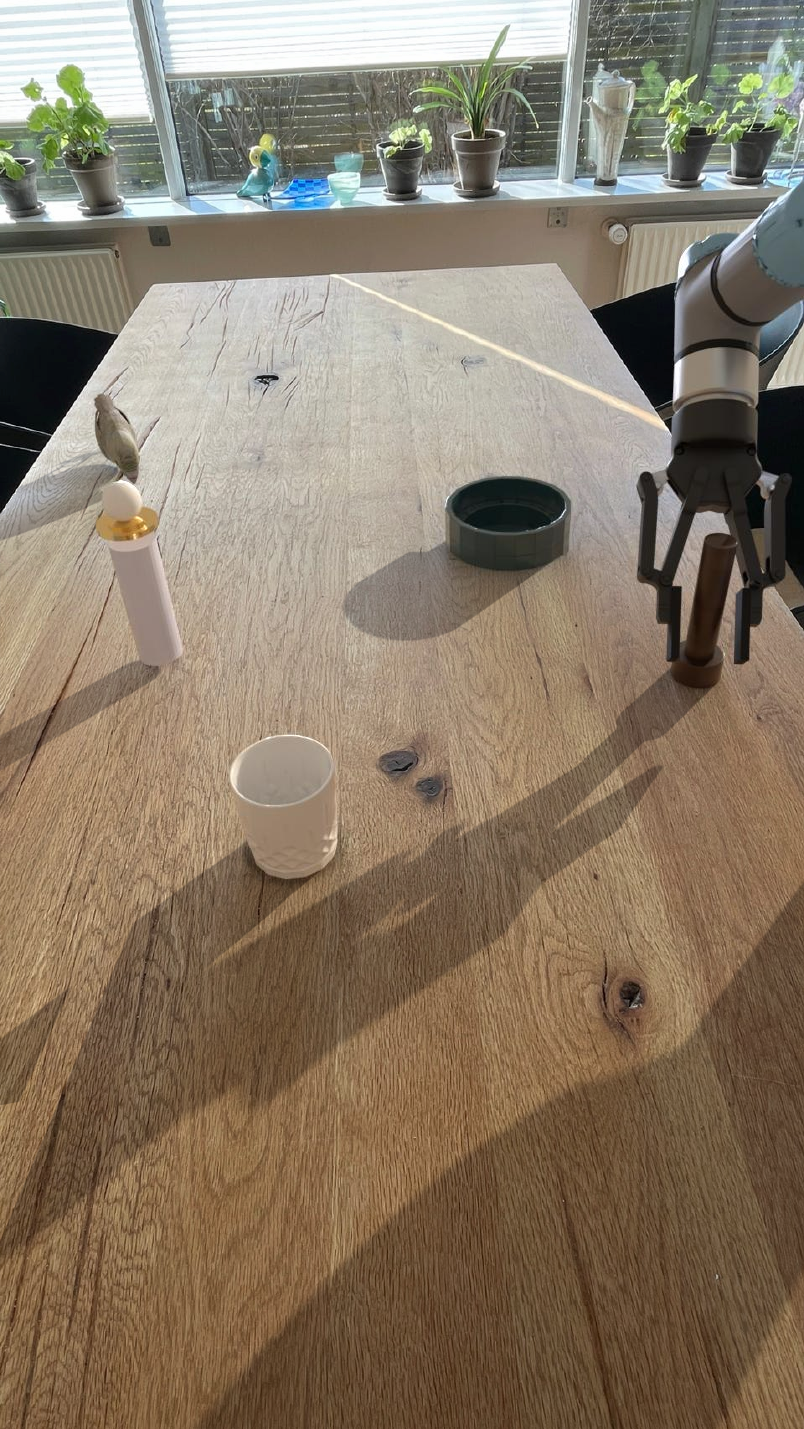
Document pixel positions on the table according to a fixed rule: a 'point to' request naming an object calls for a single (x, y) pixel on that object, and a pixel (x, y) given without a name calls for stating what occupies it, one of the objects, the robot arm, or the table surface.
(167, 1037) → the table surface
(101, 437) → the decorative bird
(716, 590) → the brown pestle
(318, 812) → the white cup
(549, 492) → the bowl
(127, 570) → the perfume bottle
